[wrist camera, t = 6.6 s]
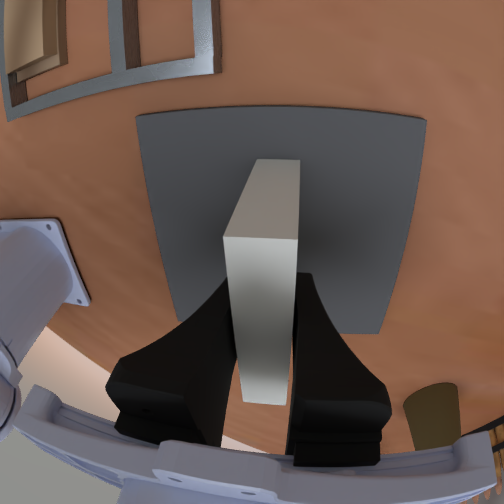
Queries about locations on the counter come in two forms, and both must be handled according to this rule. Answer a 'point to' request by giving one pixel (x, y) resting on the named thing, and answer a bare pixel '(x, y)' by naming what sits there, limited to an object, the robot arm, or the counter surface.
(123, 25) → the rack
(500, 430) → the ammunition clip
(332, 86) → the counter surface
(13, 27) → the offcut stack
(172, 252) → the mat
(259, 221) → the gray rectangular block
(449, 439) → the olive pawn
